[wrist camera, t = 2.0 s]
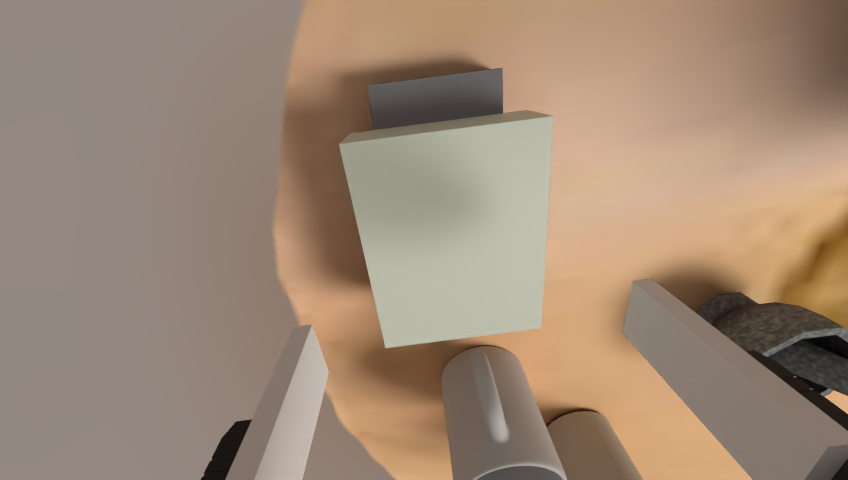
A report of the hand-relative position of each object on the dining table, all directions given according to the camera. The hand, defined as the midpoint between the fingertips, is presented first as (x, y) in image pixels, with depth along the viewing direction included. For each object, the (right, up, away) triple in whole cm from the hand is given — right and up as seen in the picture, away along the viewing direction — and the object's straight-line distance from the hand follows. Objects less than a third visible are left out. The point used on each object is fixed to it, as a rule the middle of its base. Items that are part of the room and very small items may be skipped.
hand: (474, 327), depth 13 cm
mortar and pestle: (+28, -4, +19) cm, 34 cm away
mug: (+3, -9, +20) cm, 22 cm away
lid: (0, +5, +10) cm, 11 cm away
